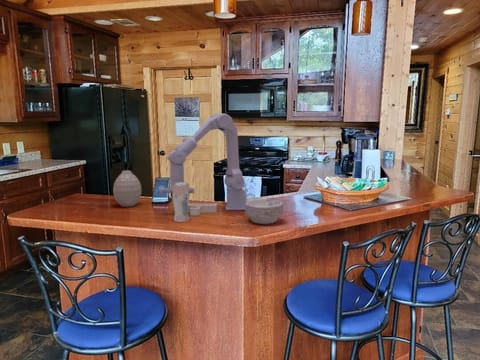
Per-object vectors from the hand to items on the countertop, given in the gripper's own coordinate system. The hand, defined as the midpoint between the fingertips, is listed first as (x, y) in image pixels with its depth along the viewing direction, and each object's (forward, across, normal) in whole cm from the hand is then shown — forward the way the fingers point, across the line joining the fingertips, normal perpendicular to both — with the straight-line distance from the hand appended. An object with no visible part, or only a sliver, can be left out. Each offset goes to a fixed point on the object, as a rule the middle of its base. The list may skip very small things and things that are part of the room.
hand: (177, 209), depth 160 cm
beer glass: (+2, -3, +9) cm, 10 cm away
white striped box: (+2, -10, -6) cm, 12 cm away
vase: (+2, +26, -17) cm, 32 cm away
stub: (+2, -8, 0) cm, 8 cm away
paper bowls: (+2, -37, +12) cm, 38 cm away
